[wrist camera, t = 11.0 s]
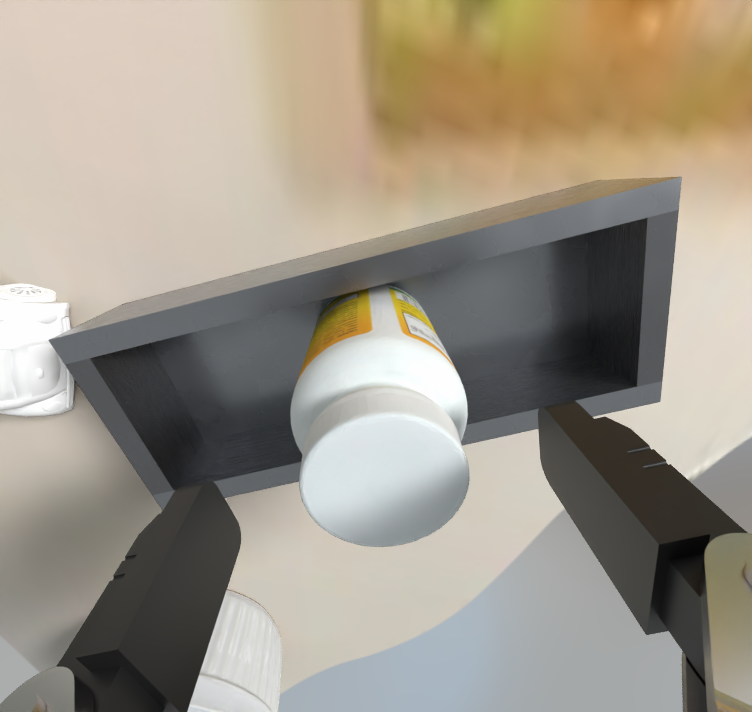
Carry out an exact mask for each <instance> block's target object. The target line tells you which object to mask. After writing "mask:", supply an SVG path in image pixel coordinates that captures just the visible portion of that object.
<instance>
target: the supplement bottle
mask: <svg viewBox="0 0 752 712" xmlns="http://www.w3.org/2000/svg"><path fill="white" fill-rule="evenodd" d="M467 416H468V408H467V399H466V394H465V390H464V387H463V384H462V382H461V379H460V377H459V375H458V373H457V371H456V369H455V367H454V365H453V363H452V361H451V359H450V358H449V356H448V354H447V352H446V350H445V348H444V347H443V345H442V343H441V341H440V339H439V338H438V336H437V334H436V332H435V330H434V328H433V326H432V324H431V322H430V321H429V318H428V317H427V315H426V313H425V312H424V310H423V309H422V307H421V306H420V305H419V303H418V302H417V301H416V300H415V299H414V298H413V297H411V296H410V295H409V294H407V293H406V292H404V291H403V290H401V289H399V288H396V287H394V286H391V285H386V284H382V285H378V286H374V287H370V288H366V289H362V290H358V291H354V292H350V293H347V294H343V295H339V296H336V297H335V298H333V299H332V300H331V301H330V302H329V303H328V304H327V305H326V307H325V308H324V309H323V311H322V312H321V314H320V316H319V318H318V320H317V323H316V325H315V329H314V332H313V335H312V338H311V342H310V344H309V348H308V350H307V354H306V356H305V360H304V363H303V365H302V369H301V371H300V374H299V377H298V381H297V383H296V386H295V389H294V393H293V397H292V402H291V410H290V417H291V427H292V432H293V436H294V438H295V441H296V444H297V446H298V448H299V450H300V451H301V453H302V455H303V456H302V461H301V468H300V475H299V488H300V493H301V498H302V501H303V503H304V505H305V507H306V509H307V511H308V513H309V514H310V516H311V517H312V518H313V520H314V521H315V522H316V523H317V524H318V525H319V526H320V527H322V528H323V529H324V530H325V531H327V532H328V533H330V534H332V535H333V536H335V537H337V538H339V539H342V540H344V541H347V542H350V543H354V544H358V545H362V546H370V547H388V546H396V545H403V544H406V543H410V542H413V541H416V540H418V539H421V538H423V537H425V536H428V535H430V534H431V533H433V532H435V531H436V530H438V529H440V528H441V527H442V526H443V525H445V524H446V523H447V522H448V521H449V520H450V519H451V518H452V517H453V516H454V515H455V513H456V512H457V511H458V509H459V508H460V506H461V504H462V503H463V501H464V498H465V496H466V493H467V490H468V486H469V466H468V461H467V458H466V455H465V453H464V450H463V447H462V444H461V440H462V438H463V435H464V432H465V428H466V423H467Z"/></svg>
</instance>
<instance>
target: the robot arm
mask: <svg viewBox="0 0 752 712" xmlns="http://www.w3.org/2000/svg"><path fill="white" fill-rule="evenodd" d="M538 427H539V444H540V459H541V464H542V468H543V471H544V473H545V476H546V478H547V480H548V482H549V484H550V486H551V487H552V489H553V490H554V492H555V494H556V495H557V497H558V498H559V500H560V501H561V503H562V504H563V506H564V508H565V509H566V511H567V512H568V514H569V515H570V517H571V518H572V520H573V521H574V523H575V525H576V526H577V528H578V529H579V531H580V532H581V534H582V536H583V537H584V539H585V540H586V542H587V543H588V545H589V546H590V548H591V550H592V551H593V553H594V554H595V556H596V557H597V559H598V561H599V562H600V564H601V565H602V566H603V568H604V570H605V571H606V573H607V575H608V576H609V577H610V579H611V581H612V582H613V584H614V585H615V587H616V589H617V590H618V592H619V593H620V595H621V596H622V598H623V599H624V601H625V603H626V604H627V606H628V607H629V609H630V610H631V612H632V613H633V615H634V617H635V618H636V620H637V621H638V623H639V624H640V626H641V627H642V629H643V631H644V632H645V634H646V635H649V634H654V633H660V632H665V631H669V632H670V633H671V635H672V636H673V638H674V639H675V641H676V642H677V643H678V645H679V646H680V648H681V649H682V651H683V652H682V695H683V712H752V534H749V533H747V532H746V531H745V530H744V529H742V528H741V527H740V526H739V525H738V524H737V523H735V522H734V521H733V520H732V519H731V518H730V517H729V516H728V515H726V514H725V513H724V512H723V511H722V510H721V509H720V508H719V507H718V506H716V505H715V504H714V503H713V502H712V501H711V500H710V499H709V498H707V497H706V496H705V495H704V494H703V493H702V492H701V491H700V490H698V489H697V488H696V487H695V486H694V485H693V484H692V483H691V482H690V481H688V480H687V479H686V478H685V477H684V476H683V475H682V474H681V473H679V472H678V471H677V470H676V469H675V468H674V467H673V466H672V465H671V464H670V465H668V464H667V463H666V460H665V459H664V458H663V457H662V456H660V455H659V454H658V453H657V452H656V451H655V450H654V449H652V450H651V449H650V446H649V445H648V444H647V443H646V442H645V441H644V440H643V439H641V438H640V437H639V436H638V435H637V434H636V433H635V432H634V431H632V430H631V429H630V428H628V427H626V426H624V425H622V424H620V423H617V422H615V421H613V420H611V419H609V418H607V417H601V418H597V419H594V418H593V417H592V416H591V415H590V414H589V413H588V412H587V411H586V410H585V409H584V408H583V407H582V406H581V405H580V404H579V403H577V402H576V401H573V400H571V401H567V402H562V403H558V404H553V405H549V406H544V407H540V408H539V410H538ZM240 545H241V531H240V526H239V523H238V521H237V519H236V518H235V516H234V514H233V513H232V511H231V509H230V507H229V506H228V504H227V502H226V500H225V499H224V497H223V495H222V493H221V492H220V490H219V488H218V487H217V485H216V484H215V483H214V482H212V481H206V482H201V483H197V484H193V485H188V486H184V487H180V488H178V489H177V490H176V491H175V492H174V493H173V495H172V496H171V498H170V500H169V501H168V503H167V505H166V506H165V508H164V510H163V511H162V513H161V514H158V515H157V516H156V517H155V519H154V520H153V521H152V522H151V523H150V524H149V525H148V526H147V527H146V528H145V529H144V530H143V531H142V532H141V533H140V534H139V535H138V537H137V539H136V540H135V542H134V543H133V545H132V547H131V548H130V550H129V552H128V553H127V555H126V556H125V558H126V560H125V561H122V563H121V564H120V566H119V568H118V569H117V571H116V572H115V574H114V579H113V581H110V582H109V584H108V585H107V587H106V588H105V590H104V592H103V593H102V595H101V596H100V598H99V600H98V601H97V603H96V604H95V606H94V608H93V609H92V611H91V613H90V614H89V616H88V617H87V619H86V621H85V622H84V624H83V625H82V627H81V629H80V630H79V632H78V633H77V635H76V637H75V638H74V640H73V641H72V643H71V645H70V646H69V648H68V649H67V651H66V653H65V654H64V656H63V657H62V659H61V661H60V662H59V663H58V665H57V666H56V667H54V668H50V669H48V670H45V671H43V672H41V673H39V674H37V675H35V676H34V677H32V678H31V679H29V680H28V681H26V682H25V683H23V684H22V685H21V686H20V687H18V688H17V689H16V690H15V691H14V692H13V693H11V694H10V695H9V696H8V697H7V698H6V699H5V700H4V701H3V702H2V703H1V704H0V712H187V711H188V708H189V705H190V702H191V699H192V696H193V692H194V689H195V686H196V683H197V680H198V677H199V674H200V671H201V668H202V664H203V661H204V658H205V655H206V652H207V649H208V646H209V643H210V640H211V637H212V633H213V630H214V627H215V624H216V621H217V618H218V615H219V612H220V609H221V605H222V602H223V599H224V596H225V593H226V590H227V587H228V584H229V581H230V578H231V574H232V571H233V568H234V565H235V562H236V559H237V556H238V553H239V549H240Z"/></svg>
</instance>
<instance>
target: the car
mask: <svg viewBox="0 0 752 712" xmlns="http://www.w3.org/2000/svg"><path fill="white" fill-rule="evenodd" d="M69 309H70V302H69V303H65V302H59V301H56V293H55V292H54V291H52V290H49V289H46V288H42V287H38V286H34V285H30V284H8V285H1V284H0V413H2V414H6V415H14V416H48V415H55V414H60V413H63V412H66V411H69V410H72V409H73V408H74V405H73V395H74V378H73V376H72V375H71V373H70V372H69V370H68V369H67V367H66V366H65V364H64V363H63V361H62V360H61V358H60V357H59V355H58V354H57V353H56V351H55V350H54V348H53V347H52V345H51V344H50V342H49V341H48V340H49V339H51V338H53V337H56V336H58V335H60V334H62V333H64V332H66V331H68V330H70V329H71V326H70V319H69Z"/></svg>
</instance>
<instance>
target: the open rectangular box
mask: <svg viewBox="0 0 752 712" xmlns="http://www.w3.org/2000/svg"><path fill="white" fill-rule="evenodd" d="M681 180H682V177H666V178H641V179H617V180H597V181H593V182H589V183H586V184H582V185H578V186H574V187H570V188H566V189H563V190H559V191H555V192H551V193H547V194H543V195H540V196H536V197H532V198H528V199H524V200H520V201H517V202H513V203H509V204H505V205H501V206H497V207H494V208H490V209H486V210H482V211H478V212H474V213H471V214H467V215H463V216H459V217H455V218H451V219H448V220H444V221H440V222H436V223H432V224H428V225H424V226H421V227H417V228H413V229H409V230H405V231H401V232H398V233H394V234H390V235H386V236H382V237H378V238H375V239H371V240H367V241H363V242H359V243H355V244H352V245H348V246H344V247H340V248H336V249H332V250H329V251H325V252H321V253H317V254H313V255H309V256H306V257H302V258H298V259H294V260H290V261H286V262H283V263H279V264H275V265H271V266H267V267H263V268H260V269H256V270H252V271H248V272H244V273H240V274H237V275H233V276H229V277H225V278H221V279H217V280H214V281H210V282H206V283H202V284H198V285H194V286H190V287H187V288H183V289H179V290H175V291H171V292H167V293H164V294H160V295H156V296H152V297H148V298H144V299H141V300H137V301H133V302H129V303H125V304H122V305H120V306H118V307H116V308H114V309H112V310H110V311H108V312H105V313H103V314H101V315H99V316H97V317H95V318H93V319H91V320H89V321H87V322H85V323H83V324H80V325H78V326H76V327H74V328H72V329H70V330H68V331H66V332H64V333H62V334H60V335H58V336H56V337H53V338H51V339H49V340H48V341H49V342H50V344H51V345H52V347H53V348H54V350H55V351H56V353H57V354H58V355H59V357H60V358H61V360H62V361H63V363H64V364H65V366H66V367H67V369H68V370H69V372H70V373H71V375H72V376H73V378H74V379H75V381H76V382H77V384H78V385H79V387H80V388H81V390H82V391H83V393H84V394H85V396H86V397H87V399H88V400H89V402H90V403H91V405H92V406H93V408H94V409H95V411H96V412H97V414H98V415H99V416H100V418H101V419H102V421H103V422H104V424H105V425H106V427H107V428H108V430H109V431H110V433H111V434H112V436H113V437H114V439H115V440H116V442H117V443H118V445H119V446H120V448H121V449H122V451H123V452H124V454H125V455H126V457H127V458H128V460H129V461H130V463H131V464H132V466H133V467H134V469H135V470H136V472H137V473H138V475H139V476H140V477H141V479H142V480H143V482H144V483H145V485H146V486H147V488H148V489H149V491H150V492H151V494H152V495H153V497H154V498H155V500H156V501H157V503H158V504H159V506H160V507H161V509H162V510H164V508H165V506H166V505H167V503H168V501H169V500H170V498H171V496H172V495H173V493H174V492H175V491H176V490H177V489H178V488H180V487H184V486H188V485H193V484H197V483H201V482H206V481H212V482H214V483H215V484H216V485H217V487H218V488H219V490H220V492H221V493H222V495H223V497H224V498H226V497H230V496H235V495H239V494H244V493H248V492H253V491H258V490H262V489H267V488H271V487H276V486H280V485H285V484H289V483H294V482H298V481H299V475H300V468H301V461H302V456H303V455H302V453H301V451H300V450H299V448H298V446H297V444H296V441H295V438H294V436H293V432H292V427H291V417H290V410H291V402H292V397H293V393H294V389H295V386H296V383H297V381H298V377H299V374H300V371H301V369H302V365H303V363H304V360H305V356H306V354H307V350H308V348H309V344H310V342H311V338H312V335H313V332H314V329H315V325H316V323H317V320H318V318H319V316H320V314H321V312H322V311H323V309H324V308H325V307H326V305H327V304H328V303H329V302H330V301H331V300H332V299H333V298H335V297H336V296H339V295H343V294H347V293H350V292H354V291H358V290H362V289H366V288H370V287H374V286H378V285H382V284H386V285H391V286H394V287H396V288H399V289H401V290H403V291H404V292H406V293H407V294H409V295H410V296H411V297H413V298H414V299H415V300H416V301H417V302H418V303H419V305H420V306H421V307H422V309H423V310H424V312H425V313H426V315H427V317H428V318H429V321H430V322H431V324H432V326H433V328H434V330H435V332H436V334H437V336H438V338H439V339H440V341H441V343H442V345H443V347H444V348H445V350H446V352H447V354H448V356H449V358H450V359H451V361H452V363H453V365H454V367H455V369H456V371H457V373H458V375H459V377H460V379H461V382H462V384H463V387H464V390H465V394H466V399H467V408H468V416H467V423H466V428H465V432H464V435H463V438H462V440H461V444H462V445H466V444H471V443H475V442H480V441H484V440H489V439H494V438H498V437H503V436H507V435H512V434H516V433H521V432H525V431H530V430H534V429H539V427H538V410H539V408H540V407H544V406H549V405H553V404H558V403H562V402H567V401H571V400H573V401H576V402H577V403H579V404H580V405H581V406H582V407H583V408H584V409H585V410H586V411H587V412H588V413H589V414H590V415H591V416H592V417H593V416H598V415H603V414H607V413H612V412H616V411H621V410H625V409H630V408H634V407H639V406H643V405H648V404H652V403H657V402H660V399H661V389H662V378H663V368H664V357H665V347H666V336H667V326H668V315H669V305H670V295H671V284H672V274H673V263H674V253H675V242H676V232H677V222H678V211H679V201H680V190H681Z"/></svg>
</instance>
